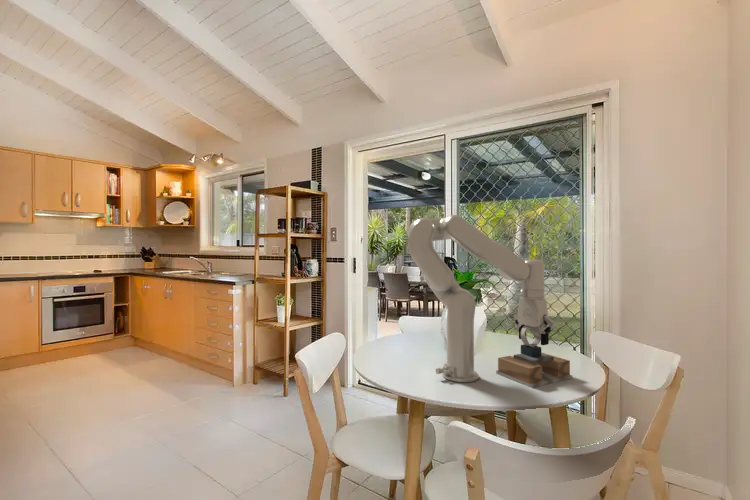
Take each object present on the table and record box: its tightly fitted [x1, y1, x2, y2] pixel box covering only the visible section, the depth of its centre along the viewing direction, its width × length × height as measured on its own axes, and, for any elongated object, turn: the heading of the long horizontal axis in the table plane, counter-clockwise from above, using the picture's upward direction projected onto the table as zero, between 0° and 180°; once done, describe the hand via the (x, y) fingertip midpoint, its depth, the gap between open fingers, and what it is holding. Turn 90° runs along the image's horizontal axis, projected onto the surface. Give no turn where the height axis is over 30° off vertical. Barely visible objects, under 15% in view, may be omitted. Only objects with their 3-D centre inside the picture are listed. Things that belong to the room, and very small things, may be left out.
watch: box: [520, 325, 542, 357], centre depth 135 cm, size 6×8×11 cm
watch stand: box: [495, 351, 573, 389], centre depth 133 cm, size 20×16×7 cm
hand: (533, 341), depth 133 cm, fingers open, 9 cm apart
